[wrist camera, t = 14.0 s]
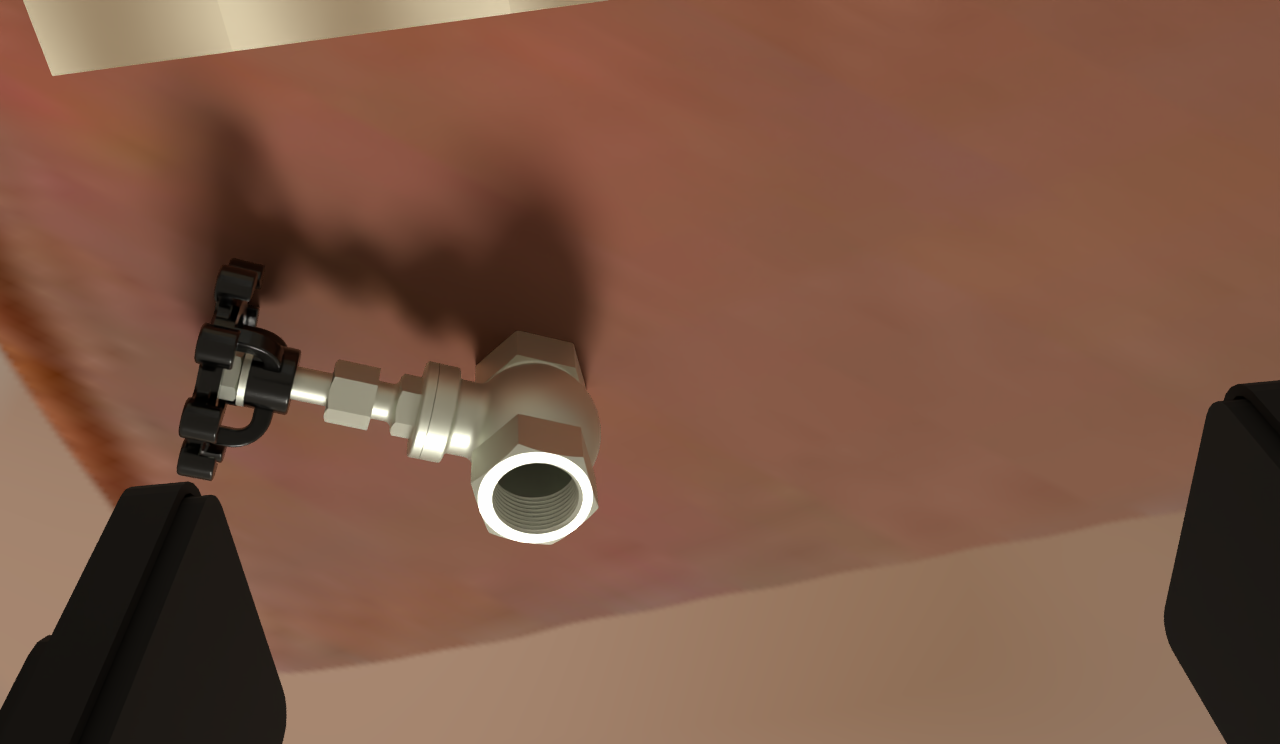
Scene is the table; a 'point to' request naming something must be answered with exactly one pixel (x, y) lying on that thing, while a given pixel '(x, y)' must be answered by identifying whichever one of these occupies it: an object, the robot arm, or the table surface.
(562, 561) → the table surface
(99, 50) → the socket block
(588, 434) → the valve
